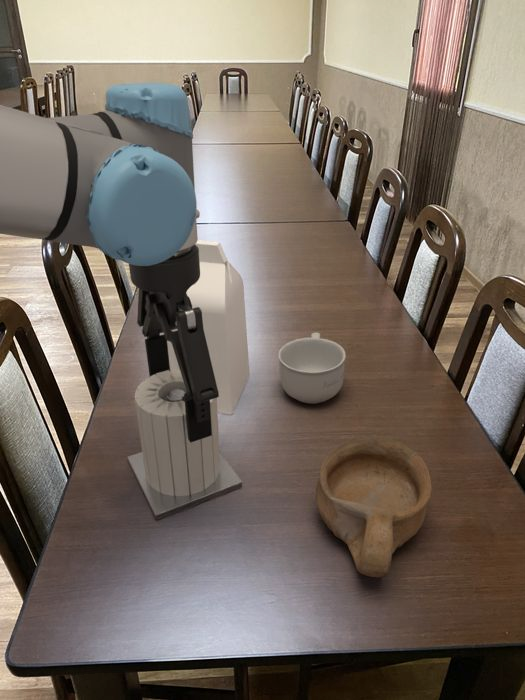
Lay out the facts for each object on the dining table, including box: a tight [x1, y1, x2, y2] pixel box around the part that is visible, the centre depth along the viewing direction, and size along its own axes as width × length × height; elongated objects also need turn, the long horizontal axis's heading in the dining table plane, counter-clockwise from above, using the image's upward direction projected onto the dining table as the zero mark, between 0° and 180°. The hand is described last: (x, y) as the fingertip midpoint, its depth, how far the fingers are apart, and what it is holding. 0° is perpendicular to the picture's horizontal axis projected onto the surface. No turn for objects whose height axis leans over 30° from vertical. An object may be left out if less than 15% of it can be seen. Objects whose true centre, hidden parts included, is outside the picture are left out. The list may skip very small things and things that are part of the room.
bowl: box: [315, 436, 433, 578], centre depth 63 cm, size 18×14×10 cm
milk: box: [160, 240, 251, 416], centre depth 84 cm, size 12×12×26 cm
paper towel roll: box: [134, 369, 220, 496], centre depth 70 cm, size 10×10×13 cm
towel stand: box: [126, 389, 243, 522], centre depth 70 cm, size 12×12×14 cm
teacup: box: [277, 332, 347, 405], centre depth 90 cm, size 14×11×8 cm
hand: (178, 406), depth 68 cm, fingers open, 13 cm apart
